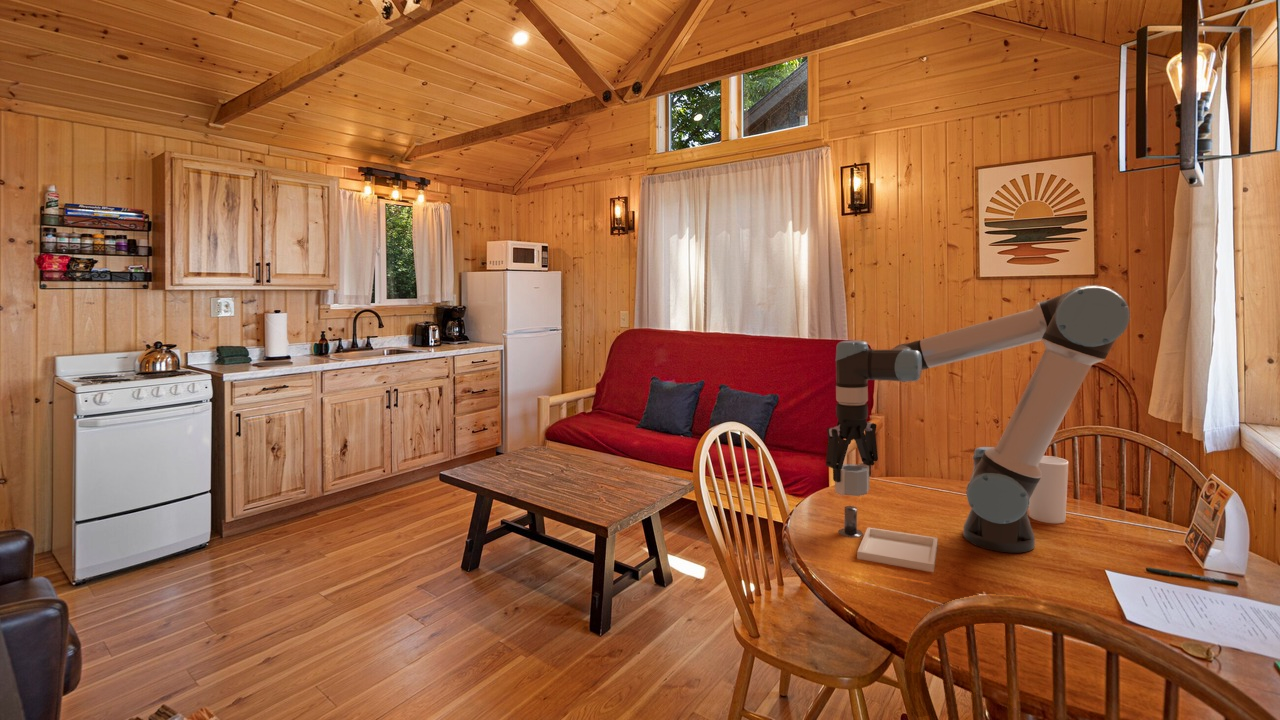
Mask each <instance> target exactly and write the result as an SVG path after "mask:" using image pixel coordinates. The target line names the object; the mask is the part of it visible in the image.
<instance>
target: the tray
mask: <svg viewBox="0 0 1280 720" xmlns="http://www.w3.org/2000/svg"><path fill="white" fill-rule="evenodd" d="M862 537H863V538H862V540H861V542H860V544H859V546H858V549H857V552H856V553H857V554H856V555H857V556H856V559H857V560H859V561H867V562H871V563H876V564H877V563H878V564H881V565H883V564H884V565H888V566H894V567H901V568H906V569H912V570H917V571H923V572H928V573H932V574H933V573H935V565H936V558H937V552H938V551H937V550H938V537H935V536H928V535H922V534H915V533H909V532H908V533H907V532H902V531H895V530H888V529H881V528H874V527H870V526H869V527H866V530H865V533H864V534H863V536H862Z"/></svg>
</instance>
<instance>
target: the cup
mask: <svg viewBox="0 0 1280 720" xmlns="http://www.w3.org/2000/svg"><path fill="white" fill-rule="evenodd" d="M1038 467H1039V469H1040V471H1041V473H1042V477H1041V478H1040V480H1039V482H1038V484H1037V486H1036V488H1035V490H1034V492H1033V493H1032V495H1031V497H1030V499H1029V508H1028V518H1031V519H1032V520H1035V521H1038V522H1041V523H1047V524H1062V523H1065V522H1066V517H1067V516H1066V515H1067V496H1068V495H1067V494H1068V480H1069V479H1068V478H1069V477H1068V476H1069V460H1067V459H1065V458H1062V457H1058V456H1053V455H1052V456H1051V455H1043V457H1042V459H1041V461H1040V463H1039V464H1038Z"/></svg>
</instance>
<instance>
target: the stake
mask: <svg viewBox="0 0 1280 720" xmlns="http://www.w3.org/2000/svg"><path fill="white" fill-rule="evenodd" d="M857 525H858V508H857V507H856V506H854V505H845V507H844V525H843V526H844V528H841V529H839V530H838V534H839V535H840V536H843V537H846V538H851V539H855V538H861V537H864V533H863V532H862V531H861V530H859V529H858V526H857Z"/></svg>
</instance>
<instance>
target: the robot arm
mask: <svg viewBox="0 0 1280 720" xmlns="http://www.w3.org/2000/svg"><path fill="white" fill-rule="evenodd" d="M1130 313H1131V312H1130V307H1129V306H1128V303H1127V301H1126V299H1125V298H1124V297H1123V295H1121V294H1120V293H1119V292H1118V291H1116V290H1114V289H1112V288H1109V287H1107V286H1102V285H1097V284H1091V285H1083V286H1082V285H1081V286H1079V287H1075V288H1073V289H1070V290H1068V291H1067V292H1064V293H1063V294H1060V295H1057V296H1055V297H1052V298H1049V299H1046V300H1043V301H1039V302H1037V303H1036V304H1035V306H1034V307H1033V308H1031V309H1026V310H1024V311H1020V312H1017V313H1012V314H1009V315H1005V316H1002V317H999V318H998V317H997V318H994V319H991V320H987V321H984V322H980V323H977V324H972V325H970V326H966V327H962V328H961V327H960V328H958V329H954V330H950V331H947V332H943V333H940V334H936V335H932V336H930V337H925V338H922V339H919V340H915V341H911V342H908V343H902V344H901V343H900V344H898V345H896V346H895V347H893V348H892V349H871V348H869V346H868V342H867V341H864V340H843V341H839V342H838V343H837V344H836V350H835V360H834V361H835V381H836V382H835V383H836V384H835V399H836V400H835V401H837V402H836V405H835V413H836V414H835V416H836V418H837V424H836V426H834V427H828V428H827V429H826V433H827V437H828V438H827V448H826V458H825V460H826V461H825V466H827V467H829V468H831V469H832V480H833V482H834V484H835V485H834V491H835V494H837V495H840V496H842V497H843V496H846V495H845V470H844V469H842V466H843V465H844V462H845V458H846V455H847V452H848V449H849V445H851V444H852V443H851V442H852V441H853V440H854V441H855V444H856V447H857V450H858V453H859V457H860V459H861V463H859V464H858V465H861V466H864V467H867V469H868V491H867V492H869V491H870V477H871V475H872V466H874V465H875V462H877V461H879V460H878V459H879V458H878V447H877V445H878V444H877V438H876V437H877V436H876V431H877V426H878V425H877V424H876V423H873V422H870V421H869V422H868V420H867V419H868V417H869V411H868V410H869V406H868V403H867V402H868V401H869V389H868V387H869V382H868V381H890V382H891V381H892V382H893V381H894V382H902V383H906V382H917V381H919V380H920V379H921V375H922V371H923V370H924V371H925V370H927V369H933V368H935V367H939V366H943V365H947V364H952V363H955V362H956V363H957V362H959V361H963V360H968V359H973V358H976V357H980V356H983V355H988V354H992V353H995V352H1000V351H1005V350H1008V349H1009V350H1010V349H1012V348H1016V347H1017V348H1018V347H1021V346H1024V345H1028V344H1032V343H1037V342H1041V341H1042V343H1043V345H1044V347H1045V348H1044V351H1043V353H1042V355H1041V358H1040V360H1039V361H1038V364H1037V365H1036V367H1035V369H1034V372H1033V373H1032V376H1031V377H1030V378H1029V381H1028V383H1027V385H1026V386H1025V389H1024V391H1023V393H1022V394H1021V396H1020V398H1019V401H1018V402H1017V405H1016V407H1015V408H1014V410H1013V412H1012V414H1011V417H1010V418H1009V420H1008V422H1007V425H1006V427H1005V429H1004V431H1003V432H1002V435H1001V436H1000V438H999V440H998V442H997V444H996V446H991V447H990V446H980V447H977V448H975V449H974V451H973V456H972V459H973V468H972V469H973V470H972V474H971V477H970V479H969V482H968V484H967V486H966V491H965V492H966V499H967V502H968V505H969V507H970V508H971V509H970V511H969V513H968V515H967V517H966V520H965V522H964V525H963V534H962V535H963V537H964V539H965V540H966V541H967V542H968V543H971V544H973V545H974V546H978V547H979V548H983V549H986V550H990V551H994V552H999V553H1001V552H1002V553H1009V554H1012V553H1013V554H1014V553H1015V554H1018V553H1019V554H1020V553H1026V552H1029V551H1032V550H1033V549H1035V545H1036V544H1035V543H1036V541H1035V540H1036V539H1035V538H1036V537H1035V534H1034V530H1033V527H1032V525H1031V524H1032V523H1031V521H1030V517H1029V514H1028V511H1029V499H1030V497H1031V495H1032V493H1033V492H1034V490H1035V488H1036V486H1037V484H1038V482H1039V480H1040V478H1041V477H1042V473H1041V471H1040V469H1039V467H1038V464H1039V463H1040V461H1041V459H1042V457H1043V456H1045V453H1046V451H1047V449H1048V448H1049V446H1050V444H1051V442H1052V441H1053V438H1054V436H1055V435H1056V433H1057V431H1058V428H1059V427H1060V425H1061V424H1062V421H1063V420H1064V417H1065V415H1066V414H1067V412H1068V410H1069V408H1070V407H1071V405H1072V403H1073V401H1074V399H1075V397H1076V395H1077V393H1078V391H1079V390H1080V388H1081V386H1082V384H1083V382H1084V380H1085V379H1086V377H1087V375H1088V374H1089V371H1090V369H1091V368H1092V366H1093V365H1095V364H1097V363H1101V362H1103V361H1106V358H1107V356H1108V355H1109V353H1110V351H1111V350H1112V347H1113V346H1114V344H1115V342H1116V340H1118V338H1120V337H1121V335H1123V334H1124V333H1125V331H1126V329H1127V327H1128V325H1129V323H1130V318H1131V316H1130Z"/></svg>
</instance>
